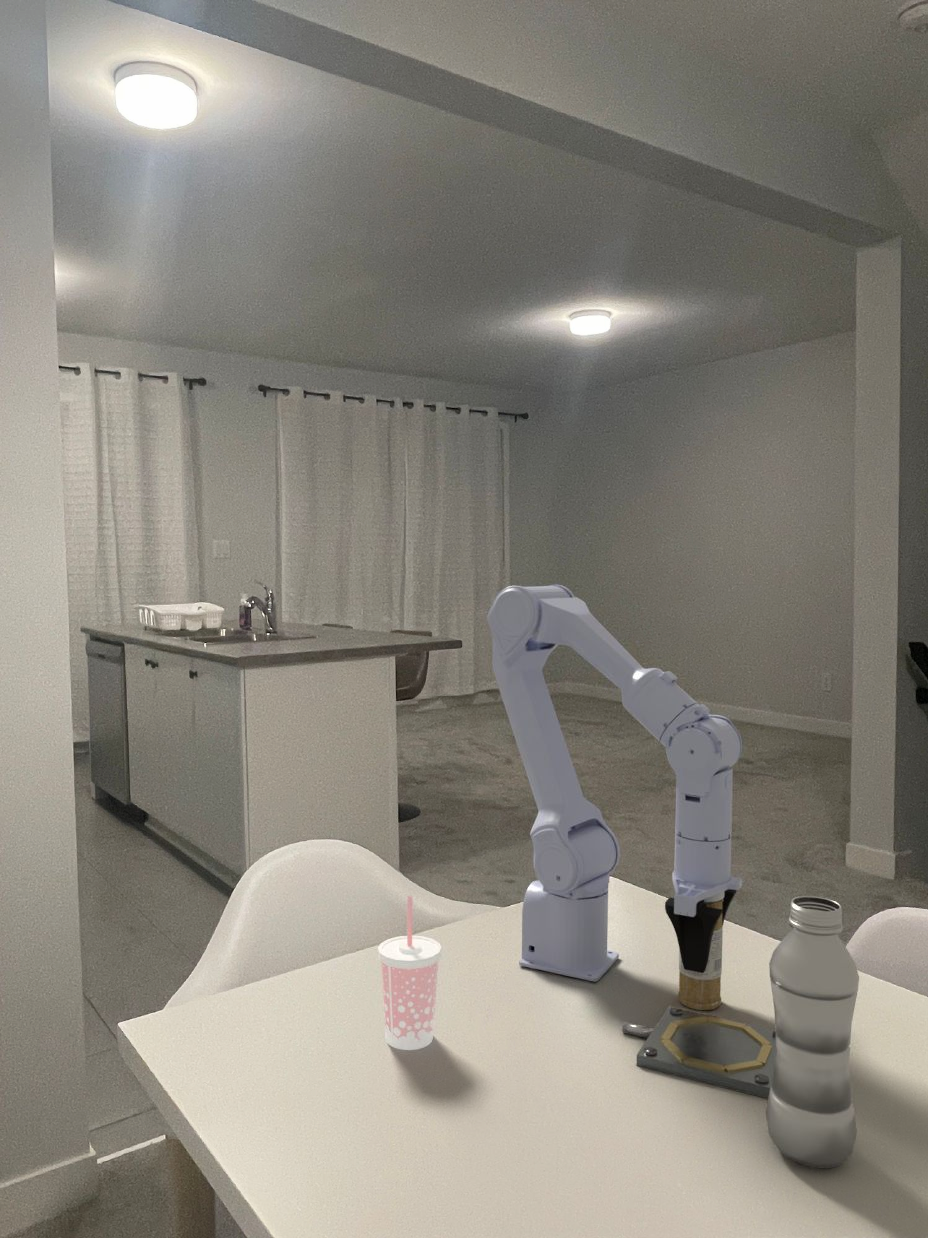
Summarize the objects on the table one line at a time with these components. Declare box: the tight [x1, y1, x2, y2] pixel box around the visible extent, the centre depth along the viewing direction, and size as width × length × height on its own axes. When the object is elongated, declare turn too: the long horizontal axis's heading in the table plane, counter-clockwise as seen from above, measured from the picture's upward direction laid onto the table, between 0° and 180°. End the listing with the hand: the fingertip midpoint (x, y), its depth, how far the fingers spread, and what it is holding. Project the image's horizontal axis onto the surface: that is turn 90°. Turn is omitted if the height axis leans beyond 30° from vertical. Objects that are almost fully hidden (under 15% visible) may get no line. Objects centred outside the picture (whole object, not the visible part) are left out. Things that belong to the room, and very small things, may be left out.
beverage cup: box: [377, 895, 442, 1051], centre depth 93 cm, size 6×6×14 cm
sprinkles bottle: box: [677, 891, 724, 1011], centre depth 101 cm, size 5×5×14 cm
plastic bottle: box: [765, 895, 860, 1169], centre depth 75 cm, size 6×7×20 cm
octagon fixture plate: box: [621, 1005, 776, 1100], centre depth 91 cm, size 15×11×1 cm
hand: (700, 961), depth 101 cm, fingers closed on sprinkles bottle, 4 cm apart
